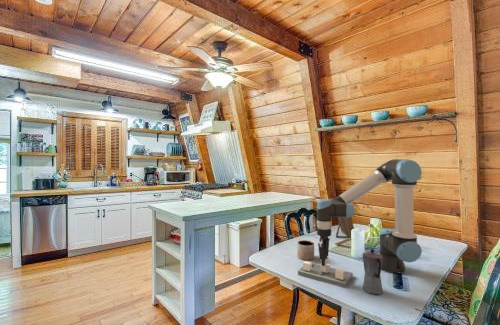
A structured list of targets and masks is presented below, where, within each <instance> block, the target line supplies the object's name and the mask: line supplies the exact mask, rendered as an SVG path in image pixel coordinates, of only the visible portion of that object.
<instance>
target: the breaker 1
mask: <svg viewBox="0 0 500 325" xmlns="http://www.w3.org/2000/svg"><path fill="white" fill-rule="evenodd" d="M312 263H313V262H311V261H309V260H303V262H302V267H303V270H306V271H311V270H312Z"/></svg>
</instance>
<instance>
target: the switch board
mask: <svg viewBox="0 0 500 325" xmlns="http://www.w3.org/2000/svg"><path fill="white" fill-rule="evenodd" d="M336 269H337V268H333V267H330V271H329V272H328V273H325V272H321V264H317V263H313V262H312V270H311V271H306V270H303V266H302V267H301V268H299V270H297V275H298V276H301V277H304V278H305V277H306V278H309V279H311V280H316V281H319V282H324V283H326V284H327V283H328V284H331V285H335V286H338V287H341V288H345V289H346V288H347V287H348V285H349V284H350V282H351V281H352V278H353V276H354V275H353V274H354V273H353V272H350V271H346V270H345V278H344V279H343V280H341V279H337V278H335V270H336Z"/></svg>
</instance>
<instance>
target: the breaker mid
mask: <svg viewBox="0 0 500 325" xmlns="http://www.w3.org/2000/svg"><path fill="white" fill-rule="evenodd" d="M330 265H331V264H330V263H327V271H326V272H325V273H328V272H329V271H330V268H331V267H330ZM321 272H324V271H321Z"/></svg>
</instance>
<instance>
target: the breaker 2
mask: <svg viewBox="0 0 500 325" xmlns="http://www.w3.org/2000/svg"><path fill="white" fill-rule="evenodd" d="M335 269H336V270H335V278H337V279H341V280H343V279H344V278H345V271H346V270H344V269H341V268H335Z"/></svg>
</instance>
